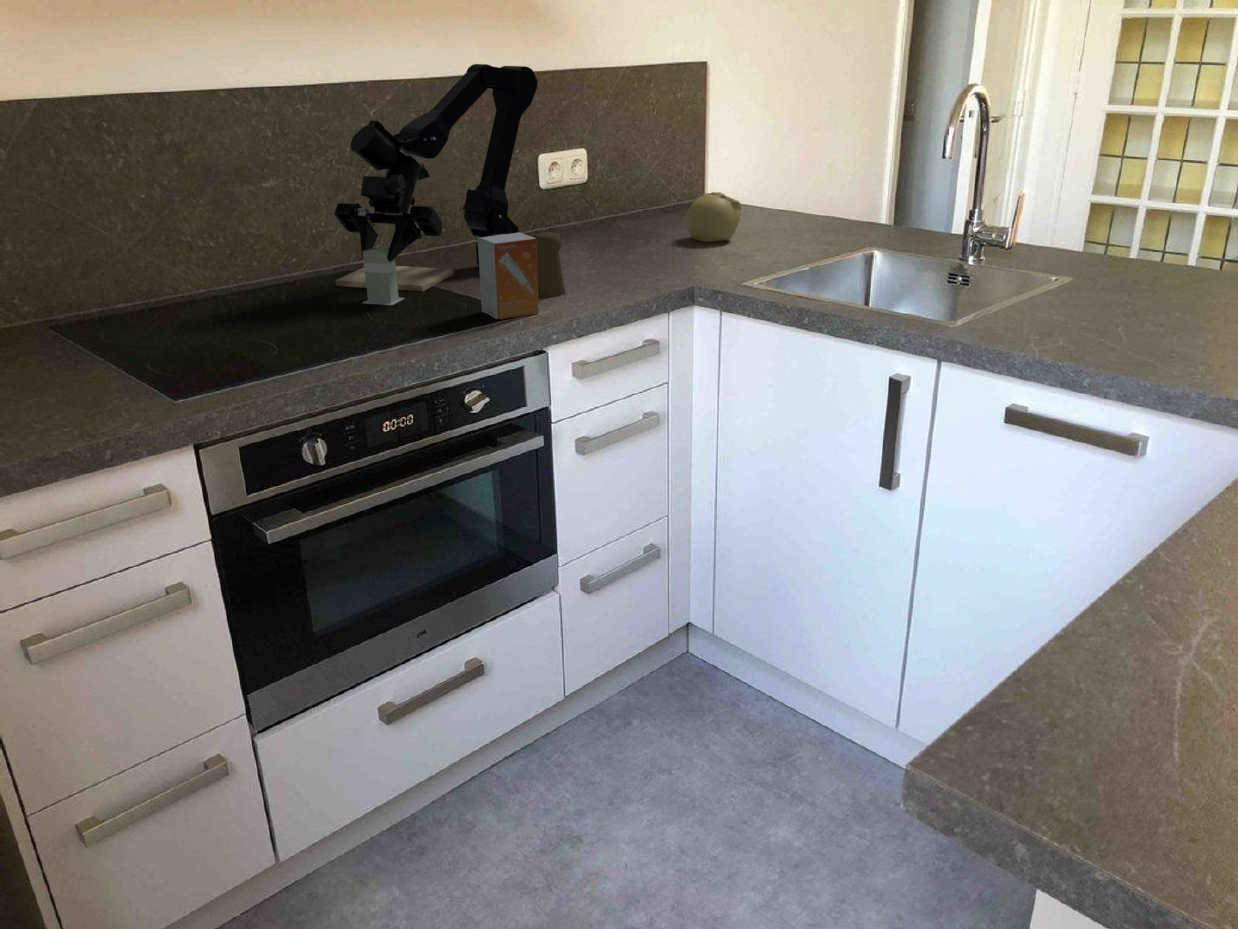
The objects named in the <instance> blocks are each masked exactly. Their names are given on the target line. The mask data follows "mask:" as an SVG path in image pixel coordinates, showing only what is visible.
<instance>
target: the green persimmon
mask: <svg viewBox="0 0 1238 929" xmlns="http://www.w3.org/2000/svg"><path fill="white" fill-rule="evenodd" d="M741 212H742V204H741V202H740V201H739V200H737V199H735V198H732V197H730V196H727V195H726V194H725V193H723V192H720V191H715V192H714V191H713V192H712V191H711V192H706V193H705V192H702V193H701V194H699V195H698V196H696V197H694V201H693V202H692V204H691V205H690V206H689V209H688V211H687V214H686V219H685V220H686V228H687V231H688V234H689V235H690V237H691V238H692V239H694V240H696V241H699V242H706V243H710V242H719V241H720V242H721V241H728V240H730V239H732V237H733V236H734V234H735V232H736V230H737V228H738V226H739V223H740V222H741V215H742V213H741Z"/></svg>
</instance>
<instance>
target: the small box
mask: <svg viewBox="0 0 1238 929" xmlns="http://www.w3.org/2000/svg"><path fill="white" fill-rule="evenodd" d="M534 237H535V236H530V235H528V234H525V233H522V232H519V231H518V233H512V234H502V235H494V236H489V237H480V238H478V237H477V244H478V253H479V265H478V266H479V270H478V271H479V284H480V285H479V287H480V300H481V301H480V304H481V313H482V312H484V313H487V314H489V315H490V316H492V317H491V318H493V317H494V318H493V319H495V320H497V319H500V320H504V319H511V318H517V317H524V316H530V315H537V314H539V312H540V311H539V296H538V276H537V244H536V238H534ZM484 313H483V314H484ZM490 316H489V317H490Z"/></svg>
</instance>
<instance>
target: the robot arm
mask: <svg viewBox="0 0 1238 929" xmlns="http://www.w3.org/2000/svg"><path fill="white" fill-rule="evenodd" d="M538 82H539V81H538V78H537V76H536V72H534V70H533V69H532V68H530V67H529V66H525V65H524V66H523V65H522V66H521V65H503V66H500V67H498V66H497V67H496V66H493V65H490V64H484V63H473V64H471V65H470V66H468V68H467V70H466V72H465V73H464V74H463V75H462V76H461V77H460V78H459V80H458V81H457V82H456V83H455V84H454V85H453V86H452V87H451V88H450V89H449V90H448V91H447V93H445V94H444V96H443V97H442V98H441V99H440V100H439V101H438V102H437V103H436V104H435V105H434V106H433V108H431V109H430V110H429V111H428V112H426V113H423V114H422V115H420V116H417V117H414V119H413V120H411V121H409V122H408V123H407V124H405V125H403V127H402V128H401V130H399V132H398V133H394V134H392V133H391V132H389V131H388V129H386V128H385V127H384V126H383V124H382V123H381V122H380V121H379V120H375V119H371V120H369V123H368V124H367V125H365V126H364V127H361V129H360V130H359V131H358V132H356V133H354V135H353V137H352V139H351V140H350V141H351V142H350V150H351V151H352V152H353V153H355V154H356V156H358V157H359V158H360V159H362V160H363V161H364V162H365V163H367V164H368V165H369V166H370V167H371V168H372V169H373V170H375V171H382V170H385V173H384V176H377V175H376V176H371V175H369V176H367V175H364V176H362V178H361V188H360V195H361V196H362V197H365V198H367V199H368V204H369V206H370V207H371V208H374V209H373V210H368V209H367V208H362V205H361V204H360V203H359V202H337V204H336V206H335V209H334V212H333V214H334V216H335V218H336V219H337V220H338V222H339V223H340V224H341V225H342V227H343V228H344V229H345V231H347V232H349V233H357V234H358V233H359V238H360V248H361V249H360V250H361V258H362V259H363V251H365V250H367V249H370V248H374V246H375V244H376V241H377V239H378V236H379V234H378V233H377V231H376V229H374V226H375V225H376V224H377V225H390V226H391V225H392V226H394V228H395V229H394V232H393V236H392V239H391V242H390V246H389V248H388V249H389V251H388V256H387V259H388V260H389V261H390V262H391V261H393V260H394V259H395V260H396V258H397V257H398V256H399V255H400V254H401V253H402V252H403V251H405V249H407V247H408V246H410V245H411V244H413V243H414V242H415V241H417V240H420V239H422V233H423V234H424V236H426V237H439V236H441V235H442V230H443V221H442V220H441V218H440V217H439V215H438V213H437V212H436V209H435V208H434V207H433V205H420V204H419V205H415V203H416V199H415V197H414V193H415V189H416V186H417V183H418V182H419V181H421V180H425V179H429V177H430V173H429V171H428V170H427V168H426V167H425V164H424V163H420V162H419V161H417V159H415V158H421V159H428V160H429V159H430V160H431V159H435V158H437V157H438V156H439V155H440V154H441V152H442V150H444V147H445V146H446V144H447V143H448V141H449V137H450V132H451V130H452V129H453V127H454V125H456V124H457V123H458V121H459V120H460V119H461V118H462V117H463V116H464V115H465V114H466V112H467V111H469V110H470V108H471V107H473V105H474V104H475V103H476V102H477V101H478V100H479V98H481V97H482V96H483V94H484V93H485V92H486V91H487V90H488V89H491V90H492V98H493V102H494V106H495V114H494V118H493V124H492V127H491V128H492V129H491V133H490V137H489V141H488V146H487V151H486V156H485V159H484V165H483V168H482V169H483V170H482V174H481V176H480V182H479V184H478V185H477V187H476V188H475V189H470V188H468V189H467V190H466V194H465V202H464V205H463V207H462V210H463V211H464V214H463V219H464V220H465V222H466V225H467V226H468V227H469V229H470V232H471V234H472V237H477V239H478V238H480V237H489V236H494V235H502V234H512V233H519V227H518V226H517V224H515V223H514V221H513V220H512V218H510V217H509V216H508V215H509V202H508V198H507V193H506V186H507V185H506V184H507V181H508V177H509V170H510V169H511V168H510V167H511V162H512V159H513V155H514V150H515V145H516V141H517V138H518V137H517V136H518V131H519V126H520V123H521V118H522V116H523V115H524V114H525V112H526V111H527V110H528V108H529V107H531V105H532V102H533V101H534V98H535V95H536V92H537V89H538ZM475 254H476V258H475V259H476V265H477V266H476V267H475V269H476V271H477V270H478V271H480V270H479V253H478V243H477V244H475Z"/></svg>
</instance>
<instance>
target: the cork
mask: <svg viewBox="0 0 1238 929" xmlns="http://www.w3.org/2000/svg"><path fill="white" fill-rule="evenodd" d="M533 237H534V238H536V244H537V276H538V297H540V298H554V297H560V296H564V295H566V289H565V281H564V276H563V270H562V264H561V257H560V250H561V248H562V242H563V241H562V238H561V235H559V233H556V232H552V231H551V232H550V231H545V232H540V233H539V232H538V233H536V234H535V235H534V236H533Z"/></svg>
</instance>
